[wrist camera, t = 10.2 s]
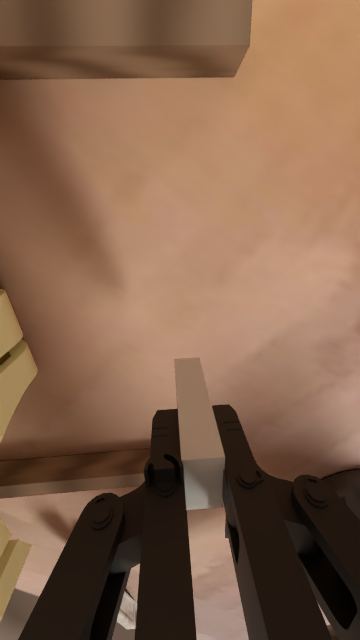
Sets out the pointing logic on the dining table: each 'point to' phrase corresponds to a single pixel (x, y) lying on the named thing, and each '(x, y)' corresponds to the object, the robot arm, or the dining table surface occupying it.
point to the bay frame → (112, 62)
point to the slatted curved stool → (3, 397)
